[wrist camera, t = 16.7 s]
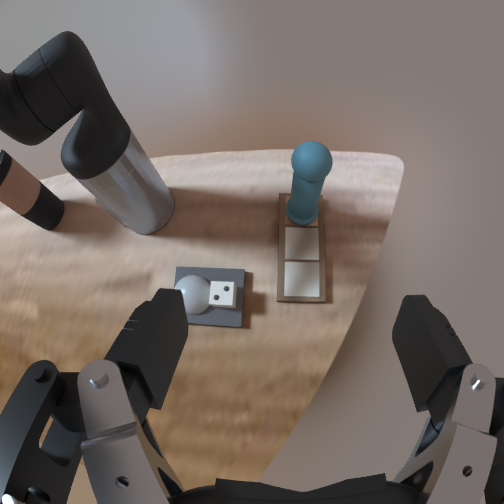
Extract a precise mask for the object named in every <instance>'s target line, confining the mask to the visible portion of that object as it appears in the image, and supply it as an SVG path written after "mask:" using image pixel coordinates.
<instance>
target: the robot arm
mask: <svg viewBox="0 0 504 504" xmlns="http://www.w3.org/2000/svg"><path fill="white" fill-rule="evenodd" d="M81 110H82V112H81V114H80V116H79V118H78V119H77V121H76V123H75V124H74V126H73V127H72V129H71V131H70V132H69V133H68V135H67V137H66V139H65V141H64V143H63V146H62V150H61V160H62V163H63V165H64V167H65V168H66V169H67V171H68V172H69V173H70V174H71V175H72V176H74V177H75V178H76V179H77V180H78V181H79V182H80V183H81V184H82V185H83V186H84V187H85V188H86V189H87V190H88V191H89V192H91V193H92V194H93V195H94V196H95V197H96V202H97V203H98V204H99V205H100V206H102V207H103V208H104V209H105V210H106V211H107V212H108V213H109V214H111V215H112V216H113V217H114V218H115V219H116V220H117V221H119V222H120V223H121V224H122V225H123V226H128V227H129V228H130V229H131V230H133V231H134V232H136V233H139V234H150V233H153V232H156V231H158V230H159V229H161V228H162V227H163V226H164V225H165V224H166V223H167V222H168V220H169V219H170V217H171V215H172V213H173V210H174V198H173V196H172V194H171V192H170V191H169V189H168V188H167V186H166V185H165V183H164V181H163V180H162V178H161V177H160V175H159V174H158V172H157V170H156V169H155V167H154V166H153V164H152V163H151V161H150V159H149V158H148V156H147V155H146V153H145V151H144V150H143V148H142V147H141V145H140V143H139V142H138V140H137V139H136V137H135V136H134V134H133V132H132V130H131V129H130V127H129V125H128V124H127V122H126V121H125V119H124V118H123V116H122V114H121V113H120V111H119V110H118V108H117V107H116V105H115V103H114V101H113V100H112V98H111V96H110V94H109V92H108V90H107V88H106V86H105V84H104V82H103V80H102V78H101V76H100V73H99V71H98V69H97V67H96V65H95V62H94V60H93V58H92V56H91V55H90V52H89V50H88V49H87V47H86V46H85V44H84V42H83V41H82V40H81V39H80V38H79V37H78V36H77V35H76V34H74V33H73V32H69V31H65V32H62V33H60V34H59V35H57V36H56V37H54V38H52V39H51V40H49V41H48V42H47V43H45V44H44V45H43V46H41V47H40V48H39V49H38V50H36V51H35V52H34V53H33V54H32V55H30V56H29V57H28V58H27V59H25V60H24V61H23V62H22V63H21V64H20V65H18V66H17V67H16V69H14V70H13V71H12V72H11V73H4V72H3V71H1V69H0V130H1V131H2V132H4V133H5V134H7V135H8V136H10V137H11V138H13V139H14V140H16V141H18V142H20V143H22V144H25V145H30V146H32V145H37V144H39V143H41V142H43V141H44V140H46V139H47V138H49V137H50V136H51V135H52V134H53V133H54V132H56V131H57V130H58V129H59V128H60V127H62V126H63V125H64V124H65V123H66V122H68V121H69V120H70V119H71V118H73V117H74V116H75V115H76V114H78V113H79V112H80V111H81ZM187 336H188V320H187V315H186V310H185V305H184V299H183V294H182V292H181V290H178V289H165V288H160V289H158V291H157V292H156V294H155V296H154V297H153V299H152V300H151V301H145V302H144V303H142V304H141V305H140V306H138V307H137V308H136V309H135V310H134V312H133V313H132V315H131V316H130V318H129V321H127V322H126V324H125V326H124V329H122V330H121V332H120V334H119V335H118V337H117V338H116V340H115V342H114V343H113V345H112V346H111V348H110V350H109V351H108V353H107V355H106V356H105V358H104V359H103V360H96V361H93V362H90V363H88V364H87V365H86V366H84V367H83V368H82V370H81V371H80V372H59V371H58V369H57V368H56V366H55V365H54V363H52V362H51V361H48V360H41V361H37V362H35V363H34V364H32V365H31V366H30V367H29V368H28V369H27V370H26V372H25V373H24V375H23V377H22V378H21V380H20V381H19V383H18V385H17V386H16V388H15V390H14V391H13V393H12V395H11V397H10V398H9V400H8V402H7V404H6V405H5V407H4V409H3V411H2V413H1V415H0V504H66V503H67V499H68V496H69V492H70V490H71V486H72V483H73V480H74V477H75V474H76V471H77V468H78V465H79V462H80V459H81V457H82V455H83V459H84V463H85V466H86V470H87V473H88V476H89V480H90V483H91V486H92V489H93V492H94V495H95V497H96V500H97V503H98V504H479V502H480V500H481V497H482V494H483V492H484V493H485V501H486V504H504V378H495V377H494V375H493V373H492V372H491V371H490V370H489V369H488V368H487V367H486V366H484V365H482V364H478V363H472V361H471V359H470V357H469V355H468V354H467V352H466V350H465V348H464V346H463V345H462V343H461V341H460V340H459V338H458V336H457V335H456V333H455V331H454V329H453V328H452V327H451V325H450V323H449V321H448V320H447V318H446V317H445V316H444V315H443V314H442V313H441V312H440V311H439V310H438V309H436V308H434V307H433V306H432V304H431V303H430V301H429V300H428V298H427V297H426V296H425V295H407V296H405V297H404V299H403V301H402V305H401V307H400V310H399V313H398V316H397V319H396V321H395V324H394V327H393V331H392V340H393V344H394V346H395V349H396V352H397V354H398V357H399V360H400V363H401V365H402V368H403V371H404V374H405V377H406V379H407V382H408V385H409V388H410V391H411V394H412V397H413V401H414V404H415V407H416V410H417V412H421V411H425V410H429V412H430V415H429V416H428V418H427V420H426V422H425V424H424V427H423V429H422V431H421V434H420V436H419V439H418V441H417V443H416V445H415V447H414V449H413V451H412V453H411V455H410V457H409V459H408V461H407V463H406V464H405V465H404V467H403V468H402V469H401V470H400V471H399V472H398V474H397V475H396V477H395V478H394V480H393V481H386V476H385V473H383V474H378V475H372V476H367V477H361V478H354V479H347V480H344V481H341V482H338V483H335V484H332V485H329V486H326V487H322V488H319V489H315V490H312V491H308V492H298V491H293V490H289V489H284V488H280V487H275V486H271V485H267V484H263V483H260V482H246V481H235V480H226V479H218V478H216V483H215V485H210V486H203V487H198V488H194V489H190V490H187V491H185V490H184V488H183V486H182V484H181V483H180V481H179V479H178V478H177V476H176V474H175V473H174V471H173V470H172V468H171V467H170V465H169V464H168V462H167V460H166V458H165V456H164V454H163V452H162V450H161V448H160V446H159V444H158V441H157V439H156V437H155V435H154V432H153V430H152V428H151V426H150V423H149V421H148V418H147V417H146V415H147V413H148V410H149V408H154V409H158V410H161V408H162V405H163V402H164V399H165V396H166V394H167V391H168V388H169V385H170V383H171V380H172V377H173V374H174V372H175V369H176V366H177V364H178V361H179V358H180V356H181V353H182V350H183V348H184V345H185V342H186V340H187ZM50 416H51V417H52V418H53V422H52V424H51V426H50V428H49V430H48V433H47V435H46V437H45V439H44V442H43V444H42V447H41V448H39V439H40V437H41V434H42V432H43V430H44V428H45V426H46V423H47V421H48V419H49V417H50Z"/></svg>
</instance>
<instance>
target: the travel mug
mask: <svg viewBox="0 0 504 504" xmlns="http://www.w3.org/2000/svg"><path fill="white" fill-rule="evenodd" d="M0 201H1V202H2V203H3V204H5V205H6V206H8V207H9V208H11V209H12V210H13V211H15V212H16V213H18V214H20V215H21V216H23V217H24V218H26V219H28V220H30V221H31V222H33V223H35V224H36V225H38V226H40V227H42V228H44V229H46V230H51V229H53V228H55V227H56V226H57V225H58V223H59V222H60V220H61V218H62V216H63V213H64V204H63V202H62V201H61V200H60V199H59V198H58V197H57V196H55V195H54V194H53V193H52V192H51V191H50V190H49V189H48V188H47V187H45V186H44V185H43V184H42V183H41V182H40V181H39V180H38V179H36V178H35V177H34V176H33V175H32V174H30V173H29V172H28V171H27V170H26V169H25V168H23V167H22V166H21V165H20V164H19V163H18V162H16V161H15V160H14V159H13V158H12V157H11V156H10V155H9V154H8V153H6V152H5V151H4V150H1V152H0Z"/></svg>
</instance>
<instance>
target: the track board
mask: <svg viewBox="0 0 504 504" xmlns="http://www.w3.org/2000/svg"><path fill="white" fill-rule="evenodd" d="M290 198H291V194H289V193H279V247H278V283H277V302H323V303H324V302H326V263H325V233H324V214H323V198H322V195H320V197H319V200H318V203H317V204H318V207H319V211H318V215H317V217H316V219H315V221H314V222H312V223H311V224H309V225H304V226H301V225H297V224H294V223H293V222H291V221H290V220H289V218H288V217H287V214H286V204H287V202H288V200H289V199H290Z"/></svg>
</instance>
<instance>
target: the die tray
mask: <svg viewBox="0 0 504 504" xmlns="http://www.w3.org/2000/svg"><path fill="white" fill-rule="evenodd" d="M244 285H245V269H223V268H198V267H177V268H176V276H175V285H174V289H178V290H181V292H182V294H183V299H184V305H185V310H186V315H187V320H188V323H192V324H203V325H216V326H230V327H242V318H243V301H244Z"/></svg>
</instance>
